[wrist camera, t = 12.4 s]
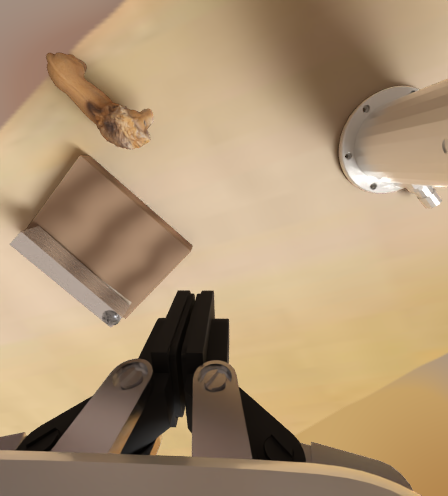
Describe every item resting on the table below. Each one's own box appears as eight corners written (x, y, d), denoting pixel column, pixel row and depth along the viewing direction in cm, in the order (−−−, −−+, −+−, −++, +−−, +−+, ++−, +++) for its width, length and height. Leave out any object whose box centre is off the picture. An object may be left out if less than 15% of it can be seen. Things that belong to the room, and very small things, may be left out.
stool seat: (192, 245, 36) (190, 251, 34) (131, 309, 39) (125, 318, 37) (90, 156, 32) (79, 155, 30) (31, 235, 35) (17, 240, 33)
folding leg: (131, 306, 36) (123, 318, 33) (120, 315, 36) (111, 328, 33) (38, 225, 32) (20, 231, 29) (28, 237, 32) (9, 244, 30)
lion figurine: (173, 127, 31) (154, 112, 22) (152, 163, 32) (127, 161, 24) (65, 47, 28) (-3, -6, 20) (47, 90, 30) (-24, 58, 21)
